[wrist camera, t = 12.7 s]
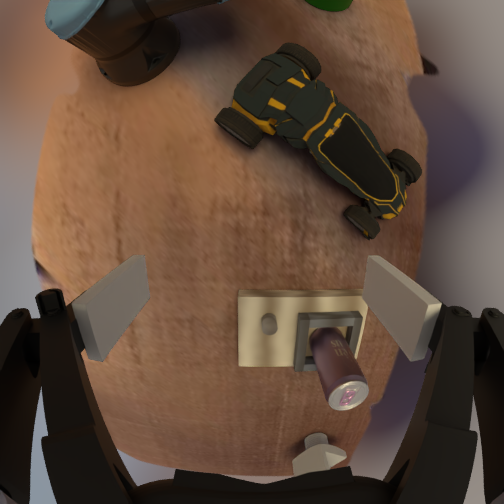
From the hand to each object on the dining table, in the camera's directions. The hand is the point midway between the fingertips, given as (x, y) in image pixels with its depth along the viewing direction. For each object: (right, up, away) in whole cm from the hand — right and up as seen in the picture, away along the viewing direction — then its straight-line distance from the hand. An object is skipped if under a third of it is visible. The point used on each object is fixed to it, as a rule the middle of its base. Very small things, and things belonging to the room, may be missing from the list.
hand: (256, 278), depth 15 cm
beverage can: (+12, -13, +29) cm, 35 cm away
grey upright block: (+16, -47, +41) cm, 64 cm away
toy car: (+11, +18, +25) cm, 33 cm away
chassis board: (+8, -12, +32) cm, 35 cm away
